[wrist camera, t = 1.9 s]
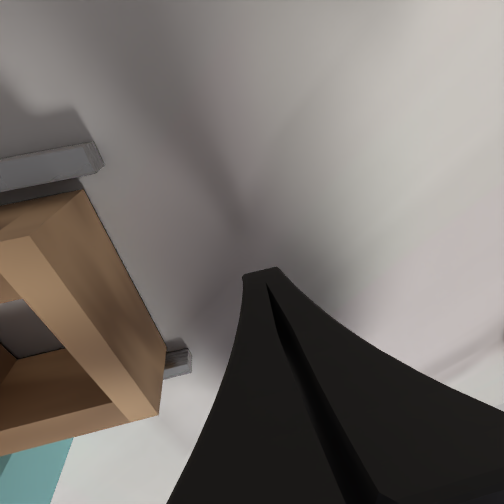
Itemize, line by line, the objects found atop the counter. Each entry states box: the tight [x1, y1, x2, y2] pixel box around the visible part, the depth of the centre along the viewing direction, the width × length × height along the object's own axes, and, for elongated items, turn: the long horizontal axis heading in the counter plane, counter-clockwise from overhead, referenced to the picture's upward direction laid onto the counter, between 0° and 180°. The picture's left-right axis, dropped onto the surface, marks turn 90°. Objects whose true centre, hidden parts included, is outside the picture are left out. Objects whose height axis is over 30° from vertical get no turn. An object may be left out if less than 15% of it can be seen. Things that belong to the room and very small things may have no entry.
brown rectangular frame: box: [0, 189, 167, 456], centre depth 10 cm, size 9×8×4 cm
